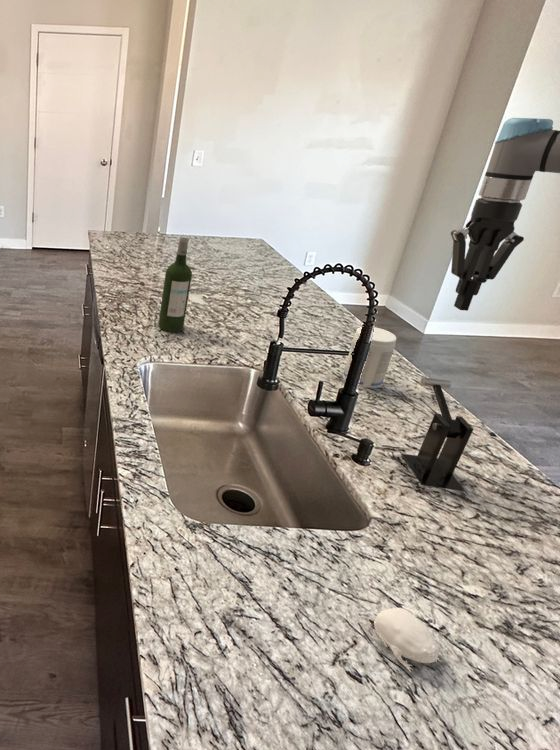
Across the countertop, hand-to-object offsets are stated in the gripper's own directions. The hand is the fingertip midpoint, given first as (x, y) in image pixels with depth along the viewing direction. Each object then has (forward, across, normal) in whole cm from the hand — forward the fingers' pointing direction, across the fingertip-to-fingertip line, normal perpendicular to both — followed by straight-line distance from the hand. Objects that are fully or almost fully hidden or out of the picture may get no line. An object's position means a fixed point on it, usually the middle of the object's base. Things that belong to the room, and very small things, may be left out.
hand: (460, 308), depth 118 cm
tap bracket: (+30, +7, +21) cm, 37 cm away
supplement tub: (+29, +8, -17) cm, 34 cm away
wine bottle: (+27, +58, -41) cm, 76 cm away
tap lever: (+17, +7, +16) cm, 24 cm away
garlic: (+32, +28, +62) cm, 76 cm away
